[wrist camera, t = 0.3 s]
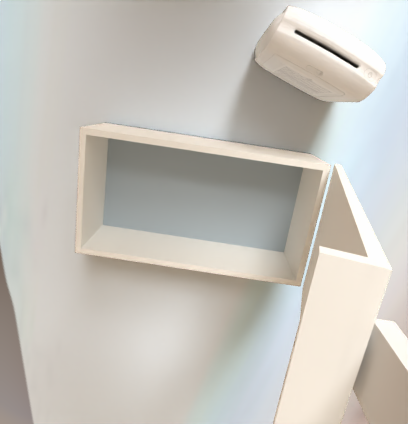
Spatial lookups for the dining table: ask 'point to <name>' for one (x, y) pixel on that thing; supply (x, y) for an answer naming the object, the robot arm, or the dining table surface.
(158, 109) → the dining table surface
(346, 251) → the mailer lid
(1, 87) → the dining table surface
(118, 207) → the box
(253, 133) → the dining table surface
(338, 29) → the photo printer
